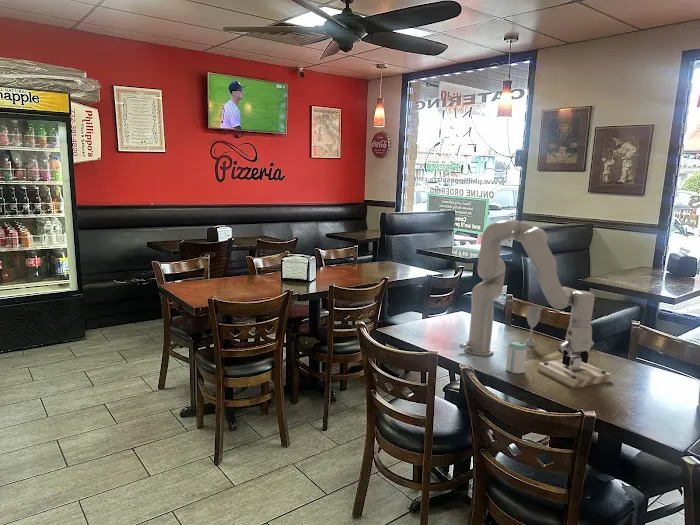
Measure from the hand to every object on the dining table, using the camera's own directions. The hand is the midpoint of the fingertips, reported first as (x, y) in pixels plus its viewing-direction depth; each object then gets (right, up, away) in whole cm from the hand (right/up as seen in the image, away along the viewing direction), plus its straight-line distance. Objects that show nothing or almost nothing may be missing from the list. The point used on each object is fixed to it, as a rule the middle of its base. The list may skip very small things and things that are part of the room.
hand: (574, 363), depth 194 cm
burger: (+12, -1, +28) cm, 30 cm away
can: (-23, -4, +3) cm, 23 cm away
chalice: (-5, +1, +35) cm, 36 cm away
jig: (0, -5, +1) cm, 5 cm away
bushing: (0, -5, +1) cm, 5 cm away
